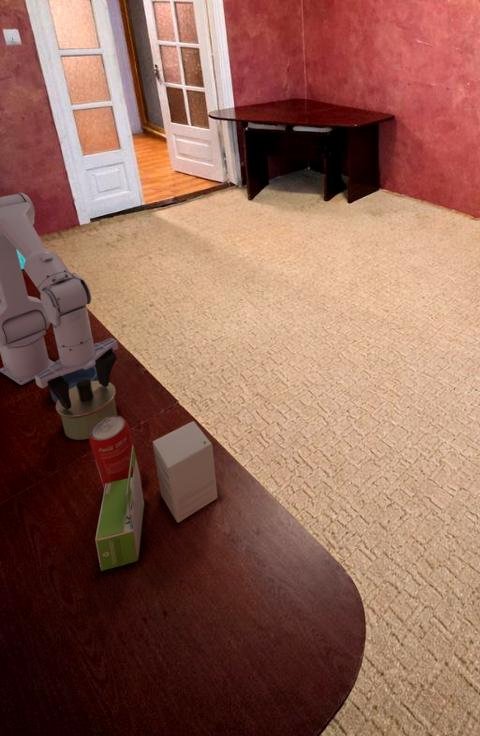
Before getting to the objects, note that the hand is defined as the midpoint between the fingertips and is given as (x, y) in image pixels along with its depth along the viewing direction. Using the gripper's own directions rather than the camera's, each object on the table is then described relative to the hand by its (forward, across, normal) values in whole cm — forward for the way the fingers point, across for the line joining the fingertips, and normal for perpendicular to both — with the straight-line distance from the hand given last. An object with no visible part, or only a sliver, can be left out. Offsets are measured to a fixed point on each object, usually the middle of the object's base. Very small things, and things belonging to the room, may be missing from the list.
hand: (85, 395), depth 97 cm
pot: (+7, 0, 0) cm, 7 cm away
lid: (+1, 0, 0) cm, 1 cm away
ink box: (+7, -12, -28) cm, 31 cm away
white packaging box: (+7, -2, -31) cm, 32 cm away
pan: (+7, +4, +12) cm, 14 cm away
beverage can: (+7, -7, -20) cm, 22 cm away
